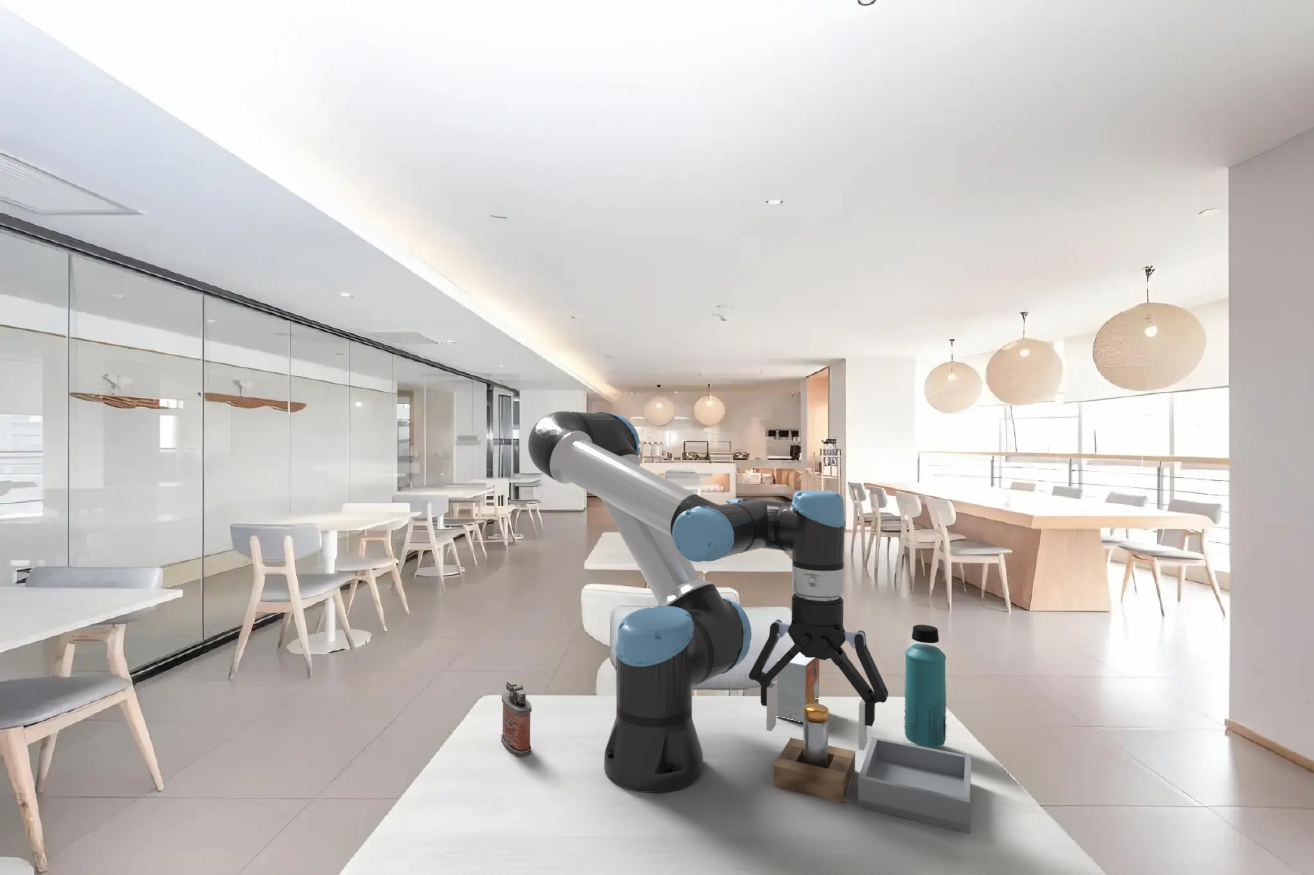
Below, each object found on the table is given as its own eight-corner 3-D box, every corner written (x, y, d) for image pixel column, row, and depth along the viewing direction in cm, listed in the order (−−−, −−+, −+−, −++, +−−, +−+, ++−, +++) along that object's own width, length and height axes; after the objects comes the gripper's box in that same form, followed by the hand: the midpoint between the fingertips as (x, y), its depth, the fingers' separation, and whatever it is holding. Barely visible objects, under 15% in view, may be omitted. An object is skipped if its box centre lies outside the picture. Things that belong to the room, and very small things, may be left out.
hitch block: (773, 785, 98) (773, 765, 98) (790, 756, 107) (790, 737, 107) (843, 802, 94) (843, 781, 94) (855, 770, 103) (855, 751, 103)
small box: (804, 725, 119) (805, 665, 119) (775, 717, 122) (775, 659, 122) (819, 709, 126) (820, 653, 126) (791, 702, 129) (791, 648, 129)
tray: (857, 806, 93) (858, 777, 93) (872, 762, 106) (872, 736, 106) (969, 833, 87) (969, 802, 87) (970, 783, 100) (970, 756, 100)
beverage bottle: (950, 759, 107) (952, 633, 107) (906, 754, 108) (908, 630, 108) (941, 740, 113) (943, 622, 113) (900, 736, 115) (901, 619, 114)
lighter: (535, 753, 107) (536, 691, 107) (515, 759, 105) (516, 695, 105) (516, 734, 114) (516, 675, 114) (496, 739, 112) (497, 679, 112)
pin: (800, 780, 100) (801, 710, 100) (805, 770, 103) (806, 701, 103) (824, 786, 98) (825, 715, 98) (829, 775, 101) (830, 706, 101)
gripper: (729, 590, 102) (728, 729, 102) (903, 611, 92) (901, 766, 92) (745, 581, 109) (743, 711, 109) (908, 598, 98) (906, 743, 98)
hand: (815, 736), depth 100 cm, fingers open, 13 cm apart
